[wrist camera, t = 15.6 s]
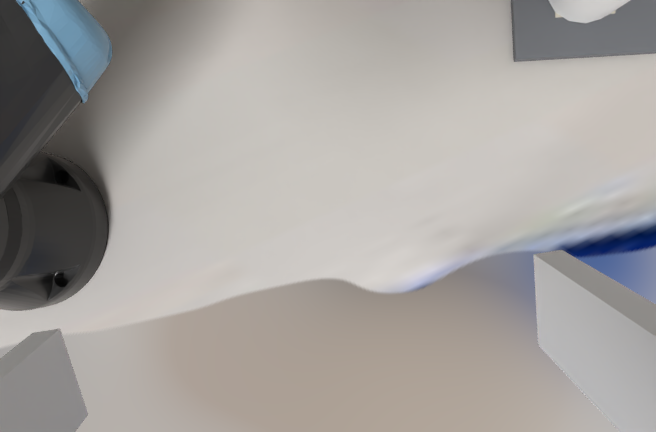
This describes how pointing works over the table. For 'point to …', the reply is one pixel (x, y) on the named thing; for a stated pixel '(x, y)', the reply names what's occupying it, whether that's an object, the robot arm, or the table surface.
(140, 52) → the table surface
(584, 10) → the foam cup
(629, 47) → the mat
